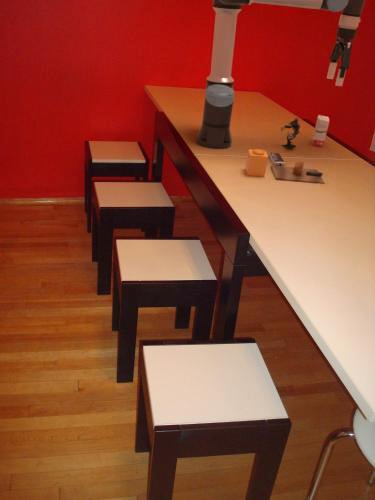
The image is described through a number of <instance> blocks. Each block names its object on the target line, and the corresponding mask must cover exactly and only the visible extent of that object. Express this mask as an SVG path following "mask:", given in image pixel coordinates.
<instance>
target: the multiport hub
mask: <svg viewBox="0 0 375 500" xmlns="http://www.w3.org/2000/svg"><path fill="white" fill-rule="evenodd" d="M267 155H268V159H269V161H270V162H271V165H274V166H285V167H286V162H285V160H284V159H283V157H282V155H281V154H280V153H279V152H268V154H267Z"/></svg>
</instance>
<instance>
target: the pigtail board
mask: <svg viewBox="0 0 375 500" xmlns="http://www.w3.org/2000/svg"><path fill="white" fill-rule="evenodd" d="M304 166H305V160H303V159H295V162H294V166H286V165H285V166H274V165H273V164H271V165H270V171H271V173H272V175H273V177H274V179H275V180H276V181H284V182H294V183H295V182H298V183H309V184H319V183H320V184H321V185H325V184H326V182H325V181H324V179H323V177H322V176H323V175H324V174H323V172H320V171H318V169H315V168H305V167H304Z"/></svg>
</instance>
